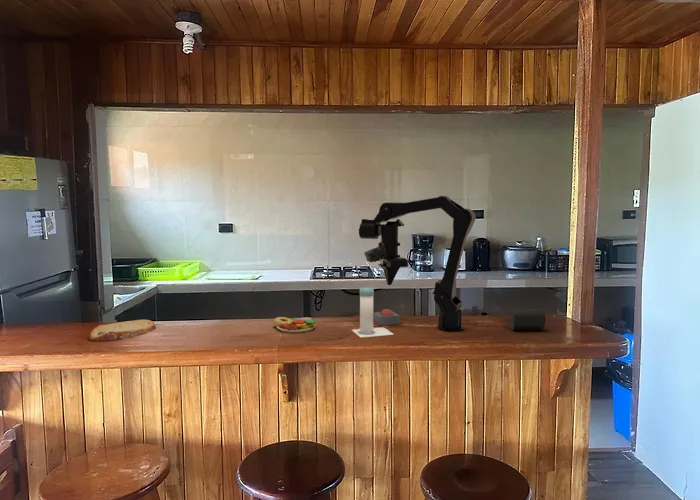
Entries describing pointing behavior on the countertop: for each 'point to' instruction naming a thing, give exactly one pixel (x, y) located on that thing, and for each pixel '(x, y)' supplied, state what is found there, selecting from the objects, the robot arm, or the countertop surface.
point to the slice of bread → (121, 330)
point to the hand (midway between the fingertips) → (389, 285)
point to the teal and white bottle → (366, 310)
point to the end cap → (527, 319)
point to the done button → (386, 312)
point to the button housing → (386, 318)
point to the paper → (374, 332)
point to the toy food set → (294, 324)
